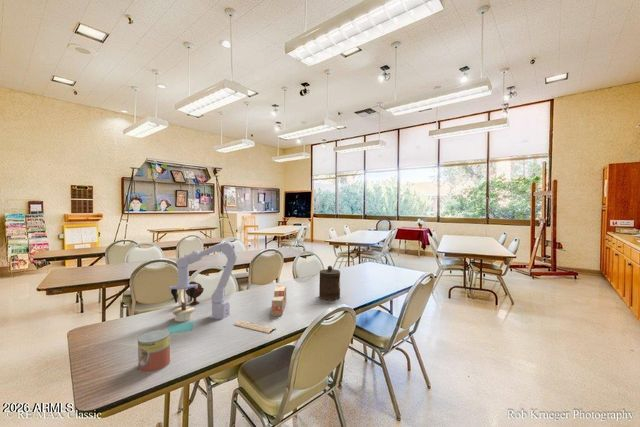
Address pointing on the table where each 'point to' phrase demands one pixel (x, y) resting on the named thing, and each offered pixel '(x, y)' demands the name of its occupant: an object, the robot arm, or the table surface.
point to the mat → (180, 327)
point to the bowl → (183, 317)
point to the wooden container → (329, 284)
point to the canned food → (153, 351)
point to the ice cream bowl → (195, 292)
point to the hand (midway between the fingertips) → (183, 301)
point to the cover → (183, 310)
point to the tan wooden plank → (253, 326)
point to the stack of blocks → (279, 301)
